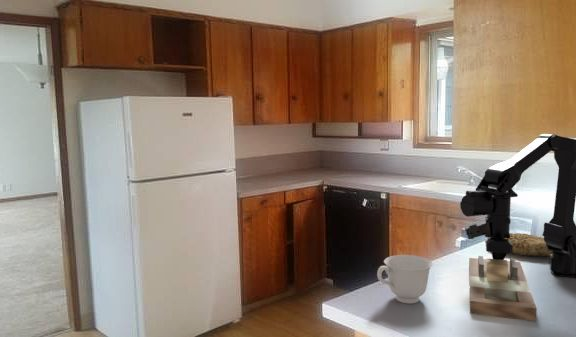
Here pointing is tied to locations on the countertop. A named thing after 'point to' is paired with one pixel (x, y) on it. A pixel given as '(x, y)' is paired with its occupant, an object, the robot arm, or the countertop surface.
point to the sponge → (528, 245)
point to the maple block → (497, 270)
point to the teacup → (406, 276)
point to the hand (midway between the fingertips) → (496, 268)
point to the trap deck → (500, 292)
